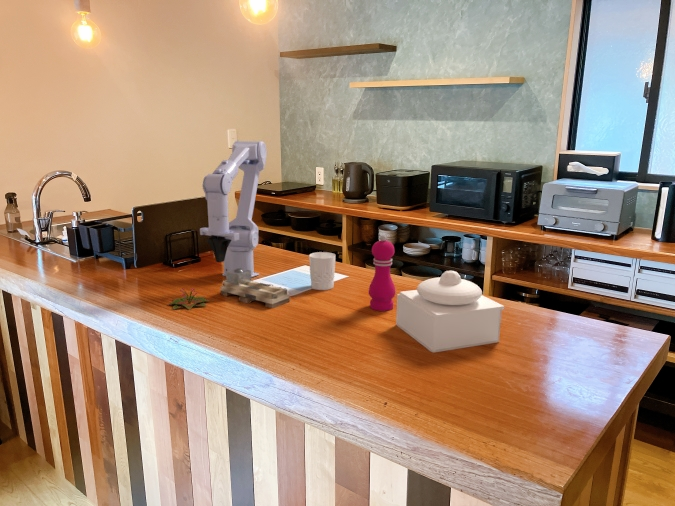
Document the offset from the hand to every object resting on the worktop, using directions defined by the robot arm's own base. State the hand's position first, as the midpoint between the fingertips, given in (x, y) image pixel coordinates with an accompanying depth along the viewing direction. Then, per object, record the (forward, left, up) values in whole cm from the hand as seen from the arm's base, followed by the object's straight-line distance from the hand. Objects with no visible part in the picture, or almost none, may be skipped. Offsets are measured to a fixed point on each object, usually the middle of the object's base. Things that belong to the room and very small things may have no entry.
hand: (220, 261), depth 157 cm
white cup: (+22, +20, -9) cm, 31 cm away
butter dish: (+68, +8, -9) cm, 70 cm away
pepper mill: (+46, +15, -9) cm, 50 cm away
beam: (+13, 0, -9) cm, 16 cm away
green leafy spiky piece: (+2, -14, -9) cm, 17 cm away
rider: (+7, 0, -6) cm, 10 cm away
